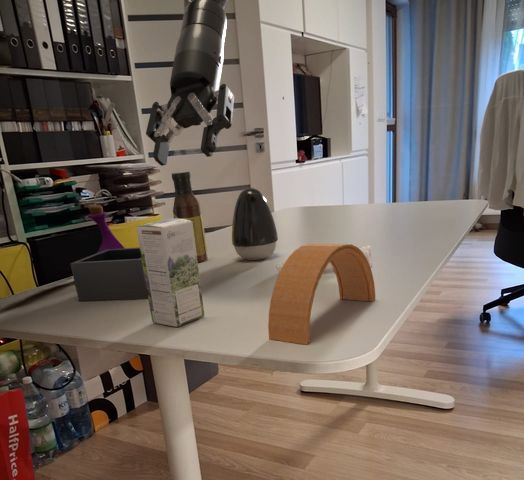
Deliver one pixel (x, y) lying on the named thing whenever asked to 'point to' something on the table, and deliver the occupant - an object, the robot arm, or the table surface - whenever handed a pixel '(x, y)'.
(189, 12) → the robot arm
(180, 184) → the sauce bottle
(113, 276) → the open box
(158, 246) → the syrup box
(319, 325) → the table surface
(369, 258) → the figurine
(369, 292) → the arch
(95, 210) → the purple potion bottle
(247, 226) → the black white egg shape
